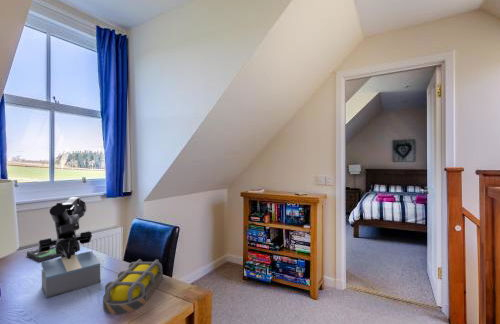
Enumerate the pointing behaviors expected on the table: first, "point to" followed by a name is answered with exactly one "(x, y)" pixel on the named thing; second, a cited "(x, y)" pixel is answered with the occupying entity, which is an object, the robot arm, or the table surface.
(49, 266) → the lid
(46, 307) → the table surface
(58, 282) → the storage box
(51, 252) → the disk drive
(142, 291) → the cage light
